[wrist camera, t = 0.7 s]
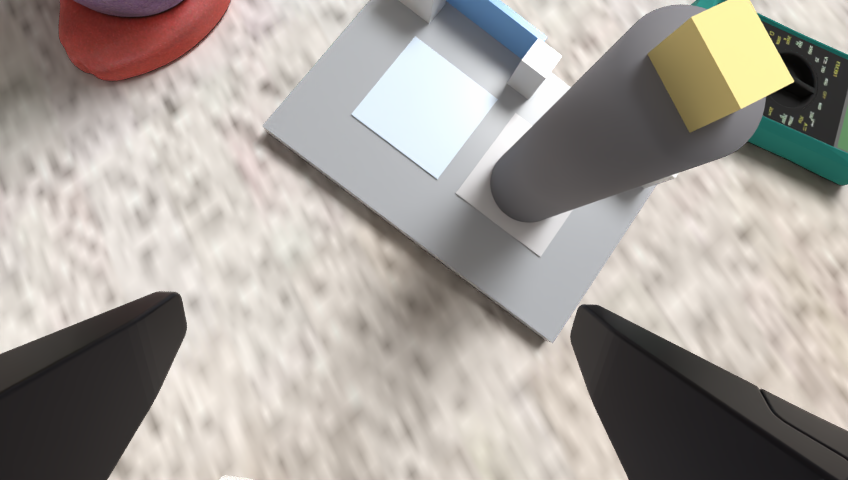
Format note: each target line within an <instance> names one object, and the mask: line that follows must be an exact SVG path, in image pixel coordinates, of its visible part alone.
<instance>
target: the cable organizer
mask: <svg viewBox="0 0 848 480" xmlns="http://www.w3.org/2000/svg"><path fill="white" fill-rule="evenodd" d="M219 480H253V479H250V478H242V477H235V476H227V475H224V476H222V477H221V478H220V479H219Z"/></svg>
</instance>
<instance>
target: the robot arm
mask: <svg viewBox="0 0 848 480" xmlns="http://www.w3.org/2000/svg"><path fill="white" fill-rule="evenodd" d="M186 330H187V322H186V317H185V312H184V307H183V302H182V298H181V296H180V294H178V293H177V292H162V291H159V292H155V293H152V294H150V295H147V296H145V297H142V298H140V299H137V300H135V301H132V302H130V303H127V304H125V305H122V306H120V307H117V308H115V309H112V310H110V311H107V312H105V313H102V314H100V315H97V316H94V317H92V318H89V319H87V320H84V321H82V322H79V323H77V324H74V325H72V326H69V327H67V328H64V329H62V330H59V331H57V332H54V333H52V334H49V335H47V336H44V337H42V338H39V339H37V340H34V341H32V342H29V343H27V344H24V345H22V346H19V347H17V348H14V349H12V350H9V351H7V352H4V353H2V354H0V480H107V479H108V478H109V476H110V474H111V473H112V471H113V469H114V468H115V466H116V464H117V463H118V461H119V459H120V458H121V456H122V454H123V453H124V451H125V449H126V448H127V446H128V444H129V442H130V441H131V439H132V437H133V436H134V434H135V432H136V431H137V429H138V427H139V426H140V424H141V422H142V421H143V419H144V417H145V416H146V414H147V412H148V411H149V409H150V407H151V406H152V404H153V402H154V400H155V399H156V397H157V395H158V393H159V391H160V389H161V387H162V385H163V382H164V380H165V378H166V376H167V374H168V371H169V369H170V367H171V365H172V363H173V361H174V358H175V356H176V354H177V352H178V350H179V348H180V345H181V343H182V341H183V339H184V337H185V334H186ZM570 338H571V344H572V347H573V350H574V352H575V355H576V358H577V361H578V364H579V367H580V370H581V372H582V375H583V378H584V381H585V384H586V387H587V390H588V392H589V395H590V397H591V400H592V402H593V404H594V407H595V409H596V411H597V413H598V415H599V417H600V420H601V422H602V424H603V426H604V428H605V430H606V432H607V434H608V436H609V439H610V441H611V443H612V445H613V447H614V449H615V451H616V453H617V455H618V458H619V460H620V462H621V464H622V466H623V468H624V470H625V472H626V474H627V477H628V479H629V480H848V431H847V430H844V429H842V428H840V427H838V426H836V425H834V424H832V423H830V422H828V421H826V420H823V419H821V418H819V417H817V416H815V415H813V414H811V413H809V412H807V411H805V410H803V409H801V408H799V407H797V406H795V405H793V404H791V403H789V402H787V401H785V400H783V399H781V398H779V397H777V396H775V395H773V394H771V393H769V392H767V391H765V390H763V389H759V388H758V387H757V386H755V385H754V384H752V383H750V382H748V381H746V380H744V379H742V378H740V377H738V376H736V375H734V374H732V373H730V372H728V371H726V370H724V369H722V368H720V367H718V366H716V365H714V364H712V363H710V362H709V361H707V360H705V359H703V358H701V357H699V356H697V355H695V354H693V353H691V352H689V351H687V350H685V349H683V348H681V347H679V346H677V345H675V344H673V343H671V342H669V341H667V340H666V339H664V338H662V337H660V336H658V335H656V334H654V333H652V332H650V331H648V330H646V329H644V328H642V327H640V326H638V325H636V324H634V323H632V322H630V321H628V320H626V319H624V318H622V317H621V316H619V315H617V314H615V313H613V312H611V311H609V310H607V309H605V308H603V307H601V306H599V305H585V304H584V305H581V306H579V308H578V310H577V313H576V316H575V320H574V323H573V327H572V330H571V336H570Z"/></svg>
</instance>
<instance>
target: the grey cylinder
mask: <svg viewBox="0 0 848 480" xmlns="http://www.w3.org/2000/svg"><path fill="white" fill-rule="evenodd" d="M793 82H794V80H793V78H792V76H791V75H790V73H789V71H788V69H787V67H786V66H785V64H784V62H783V60H782V58H781V56H780V55H779V53H778V51H777V49H776V47H775V46H774V44H773V42H772V40H771V38H770V36H769V35H768V33H767V31H766V29H765V27H764V25H763V24H762V22H761V20H760V18H759V16H758V15H757V13H756V11H755V9H754V7H753V5H752V4H751V2H750V0H727V1H725V2H723V3H721V4H718V5H716V6H714V7H712V8H710V9H705V8H702V7H698V6H693V5H671V6H666V7H662V8H659V9H656V10H654V11H652V12H650V13H648V14H646V15H645V16H643V17H642V18H641V19H639V20H638V21H637V22H636V23H635V24H634V25H633V26H632V27H631V28H630V29H629V30H628V31H627V32H626V33H625V34H624V35H623V36H622V37H621V38H620V39H619V40H618V41H617V42H616V43H615V44H614V45H613V46H612V47H611V48H610V49H609V50H608V51H607V52H606V53H605V54H604V55H603V56H602V57H601V58H600V59H599V60H598V61H597V62H596V63H595V64H594V65H593V66H592V67H591V68H590V69H589V70H588V71H587V72H586V73H585V74H584V75H583V76H582V77H581V78H580V79H579V80H578V81H577V82H576V83H575V84H574V85H573V86H572V87H571V88H570V89H569V90H568V91H567V92H566V93H565V94H564V95H563V96H562V97H561V98H560V99H559V100H558V101H557V102H556V103H555V104H554V105H553V106H552V107H551V108H550V109H549V110H548V111H547V112H546V113H545V114H544V115H543V116H542V117H541V118H540V119H539V120H538V121H537V122H536V123H535V124H534V125H533V126H532V127H531V128H530V129H529V130H528V131H527V132H526V133H525V134H524V135H523V136H522V137H521V138H520V139H519V140H518V141H517V142H516V143H515V144H514V145H513V146H512V147H511V148H510V149H509V150H508V151H507V152H506V153H505V154H504V155H503V156H502V157H501V158H500V159H499V160H498V161H497V163H496V164H495V166H494V168H493V170H492V174H491V179H490V187H491V193H492V196H493V198H494V201H495V202H496V204H497V206H498V207H499V208H500V210H501V211H502V212H503V213H505V214H506V215H507V216H509V217H510V218H512V219H514V220H517V221H520V222H526V223H532V222H538V221H541V220H544V219H547V218H550V217H553V216H556V215H559V214H561V213H564V212H567V211H570V210H573V209H576V208H579V207H582V206H584V205H587V204H590V203H593V202H596V201H599V200H602V199H605V198H607V197H610V196H613V195H616V194H619V193H622V192H625V191H628V190H631V189H633V188H636V187H639V186H642V185H645V184H648V183H651V182H654V181H656V180H659V179H662V178H665V177H668V176H671V175H674V174H677V173H679V172H682V171H685V170H688V169H691V168H694V167H697V166H700V165H703V164H705V163H708V162H711V161H714V160H717V159H720V158H723V157H725V156H727V155H729V154H732V153H733V152H735V151H736V150H738V149H739V148H741V147H742V146H743V145H744V144H745V143H746V142H747V141H748V140H749V139H750V138H751V137H752V135H753V134H754V132H755V131H756V129H757V127H758V125H759V123H760V121H761V119H762V115H763V112H764V108H765V101H766V96H768V95H770V94H771V93H773V92H775V91H777V90H779V89H781V88H783V87H785V86H787V85H789V84H791V83H793Z"/></svg>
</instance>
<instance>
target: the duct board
mask: <svg viewBox="0 0 848 480" xmlns="http://www.w3.org/2000/svg"><path fill="white" fill-rule="evenodd" d="M546 39H547V36H545V35H544V34H543V33H542V32H540V31H539V30H538V29H536V28H535V27H534V26H533V25H531V24H530V23H529V22H527V21H526V20H525V19H523V18H522V17H521V16H520V15H518V14H517V13H516V12H514V11H513V10H512V9H511V8H509V7H508V6H507V5H505V4H504V3H503V2H502V1H500V0H370V1H369V2H368V3H367V4H366V5H365V6H364V8H363V9H362V10H361V11H360V12H359V13H358V15H357V16H356V17H355V18H354V19H353V20H352V22H351V23H350V24H349V25H348V26H347V27H346V29H345V30H344V31H343V32H342V33H341V34H340V36H339V37H338V38H337V39H336V40H335V41H334V43H333V44H332V45H331V46H330V47H329V48H328V50H327V51H326V52H325V53H324V54H323V55H322V57H321V58H320V59H319V60H318V61H317V63H316V64H315V65H314V66H313V67H312V68H311V70H310V71H309V72H308V73H307V74H306V75H305V77H304V78H303V79H302V80H301V81H300V82H299V84H298V85H297V86H296V87H295V88H294V89H293V91H292V92H291V93H290V94H289V95H288V96H287V98H286V99H285V100H284V101H283V102H282V103H281V105H280V106H279V107H278V108H277V109H276V110H275V112H274V113H273V114H272V115H271V116H270V117H269V119H268V120H267V121H266V122H265V123H264V124H263V127H264V129H265V130H266V131H267V132H268V133H269V134H270V135H272V136H273V137H274V138H276V139H277V140H278V141H280V142H281V143H282V144H284V145H285V146H286V147H288V148H289V149H290V150H292V151H293V152H294V153H296V154H297V155H298V156H300V157H301V158H302V159H304V160H305V161H306V162H308V163H309V164H310V165H312V166H313V167H315V168H316V169H317V170H319V171H320V172H321V173H323V174H324V175H325V176H327V177H328V178H329V179H331V180H332V181H333V182H335V183H336V184H337V185H339V186H340V187H341V188H343V189H344V190H345V191H347V192H348V193H349V194H351V195H352V196H353V197H355V198H356V199H357V200H359V201H360V202H361V203H363V204H364V205H365V206H367V207H368V208H369V209H371V210H372V211H373V212H375V213H376V214H377V215H379V216H380V217H381V218H383V219H384V220H385V221H387V222H388V223H389V224H391V225H392V226H393V227H395V228H396V229H397V230H399V231H400V232H401V233H403V234H404V235H405V236H407V237H408V238H410V239H411V240H412V241H414V242H415V243H416V244H418V245H419V246H420V247H422V248H423V249H424V250H426V251H427V252H428V253H430V254H431V255H432V256H434V257H435V258H436V259H438V260H439V261H440V262H442V263H443V264H444V265H446V266H447V267H448V268H450V269H451V270H452V271H454V272H455V273H456V274H458V275H459V276H460V277H462V278H463V279H464V280H466V281H467V282H468V283H470V284H471V285H472V286H474V287H475V288H476V289H478V290H479V291H480V292H482V293H483V294H484V295H486V296H487V297H488V298H490V299H491V300H492V301H494V302H495V303H496V304H498V305H499V306H500V307H502V308H503V309H505V310H506V311H507V312H509V313H510V314H511V315H513V316H514V317H515V318H517V319H518V320H519V321H521V322H522V323H523V324H525V325H526V326H527V327H529V328H530V329H531V330H533V331H534V332H535V333H537V334H538V335H539V336H541V337H542V338H543V339H545V340H546V341H549V342H552V343H553V342H554V341H555V339H556V337H557V336H558V334H559V333H560V331H561V330H562V328H563V327H564V325H565V324H566V322H567V321H568V319H569V318H570V316H571V315H572V313H573V312H574V310H575V309H576V307H577V305H578V304H579V302H580V301H581V299H582V298H583V296H584V295H585V293H586V292H587V290H588V289H589V287H590V286H591V284H592V283H593V281H594V280H595V278H596V276H597V275H598V273H599V272H600V270H601V269H602V267H603V266H604V264H605V263H606V261H607V260H608V258H609V257H610V255H611V254H612V252H613V251H614V249H615V248H616V246H617V244H618V243H619V241H620V240H621V238H622V237H623V235H624V234H625V232H626V231H627V229H628V228H629V226H630V225H631V223H632V222H633V220H634V219H635V217H636V216H637V214H638V212H639V211H640V209H641V208H642V206H643V205H644V203H645V202H646V200H647V199H648V197H649V196H650V194H651V193H652V191H653V190H654V188H655V187H656V185H657V184H660V183H663V182H666V181H669V180H671V179H674V178H676V176H677V175H678V173H677V174H674V175H671V176H668V177H665V178H662V179H659V180H656V181H654V182H651V183H648V184H645V185H642V186H639V187H636V188H633V189H631V190H628V191H625V192H622V193H619V194H616V195H613V196H610V197H607V198H605V199H602V200H599V201H596V202H593V203H590V204H587V205H584V206H582V207H579V208H576V209H573V210H570V211H567V212H564V213H561V214H559V215H556V216H553V217H550V218H547V219H544V220H541V221H538V222H532V223H526V222H520V221H517V220H514V219H512V218H510V217H509V216H507V215H506V214H505V213H503V212H502V211H501V210H500V208H499V207H498V206H497V204H496V202H495V201H494V198H493V196H492V193H491V187H490V179H491V174H492V170H493V168H494V166H495V164H496V163H497V161H498V160H499V159H500V158H501V157H502V156H503V155H504V154H505V153H506V152H507V151H508V150H509V149H510V148H511V147H512V146H513V145H514V144H515V143H516V142H517V141H518V140H519V139H520V138H521V137H522V136H523V135H524V134H525V133H526V132H527V131H528V130H529V129H530V128H531V127H532V126H533V125H534V124H535V123H536V122H537V121H538V120H539V119H540V118H541V117H542V116H543V115H544V114H545V113H546V112H547V111H548V110H549V109H550V108H551V107H552V106H553V105H554V104H555V103H556V102H557V101H558V100H559V99H560V98H561V97H562V96H563V95H564V94H565V93H566V92H567V91H568V90H569V89H570V88H571V87H570V86H568V85H567V84H566V83H564V82H563V81H562V80H561V79H559V78H558V77H557V76H555V75H554V74H553V73H551V71H552V70H553V68H554V67H555V65H556V64H557V63H558V61H559V60H560V59H561V57H562V56H561V55H560V54H559V53H557V52H556V51H555V50H554V49H552V48H551V47H550V46H548V45H547V44H546V43H545V40H546Z"/></svg>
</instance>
